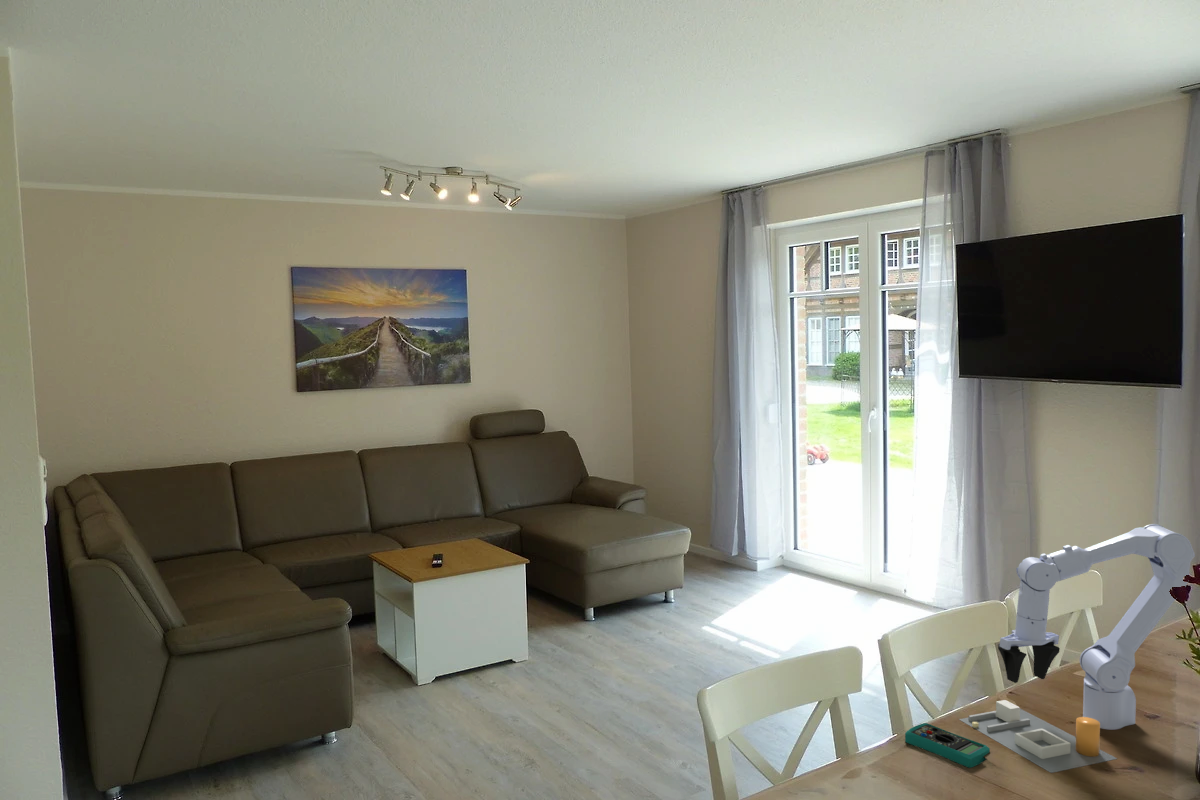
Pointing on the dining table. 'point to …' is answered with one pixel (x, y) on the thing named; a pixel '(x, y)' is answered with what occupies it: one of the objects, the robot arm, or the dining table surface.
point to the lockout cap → (1087, 736)
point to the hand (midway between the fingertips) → (1025, 679)
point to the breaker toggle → (1007, 711)
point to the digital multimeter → (947, 744)
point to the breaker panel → (1035, 741)
